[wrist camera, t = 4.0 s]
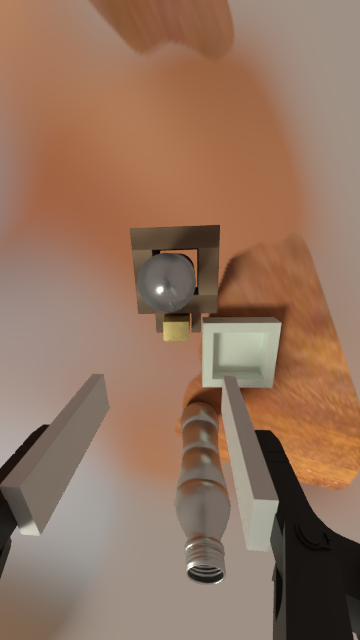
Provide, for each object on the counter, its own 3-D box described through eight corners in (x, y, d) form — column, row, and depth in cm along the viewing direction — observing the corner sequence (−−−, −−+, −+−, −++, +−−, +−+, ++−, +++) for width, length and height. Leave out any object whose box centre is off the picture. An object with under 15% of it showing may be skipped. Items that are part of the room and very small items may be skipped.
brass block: (170, 305, 30) (162, 322, 23) (189, 304, 30) (188, 321, 23) (170, 319, 31) (164, 340, 24) (189, 319, 31) (188, 340, 23)
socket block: (142, 233, 28) (130, 228, 22) (214, 231, 27) (219, 225, 21) (149, 320, 32) (140, 335, 26) (211, 320, 31) (216, 335, 25)
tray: (202, 317, 31) (203, 323, 28) (273, 316, 30) (281, 322, 28) (202, 376, 35) (202, 386, 32) (265, 377, 34) (272, 388, 31)
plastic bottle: (220, 420, 37) (249, 590, 18) (186, 426, 38) (180, 594, 19) (212, 393, 36) (235, 551, 17) (176, 400, 37) (160, 558, 18)
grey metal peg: (163, 254, 28) (134, 254, 14) (193, 253, 28) (195, 252, 14) (165, 284, 30) (140, 312, 16) (194, 284, 30) (195, 311, 15)
